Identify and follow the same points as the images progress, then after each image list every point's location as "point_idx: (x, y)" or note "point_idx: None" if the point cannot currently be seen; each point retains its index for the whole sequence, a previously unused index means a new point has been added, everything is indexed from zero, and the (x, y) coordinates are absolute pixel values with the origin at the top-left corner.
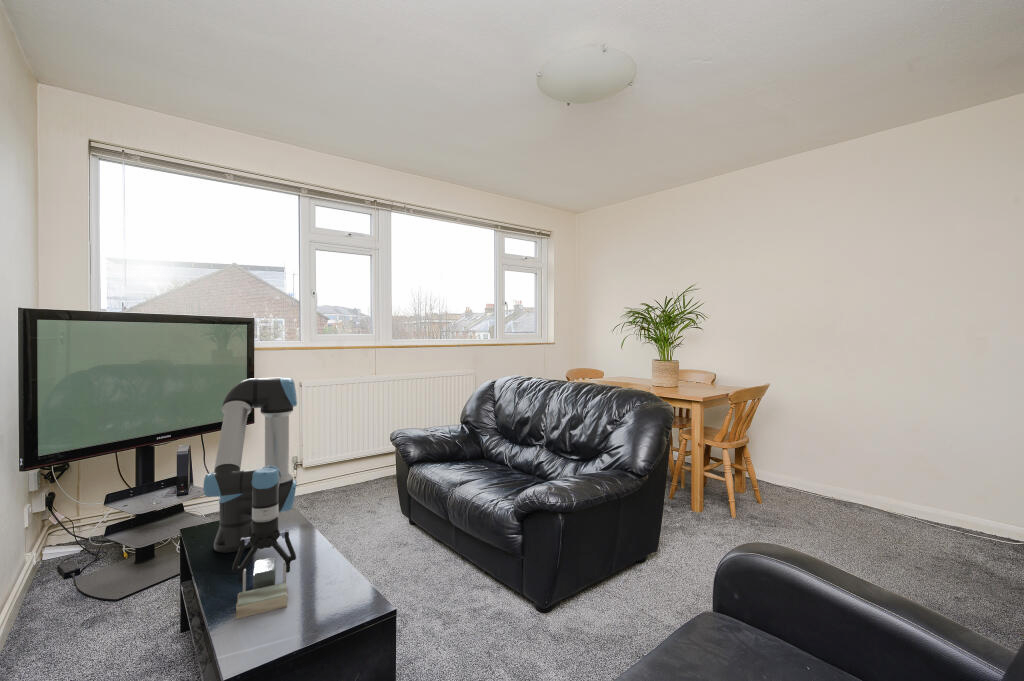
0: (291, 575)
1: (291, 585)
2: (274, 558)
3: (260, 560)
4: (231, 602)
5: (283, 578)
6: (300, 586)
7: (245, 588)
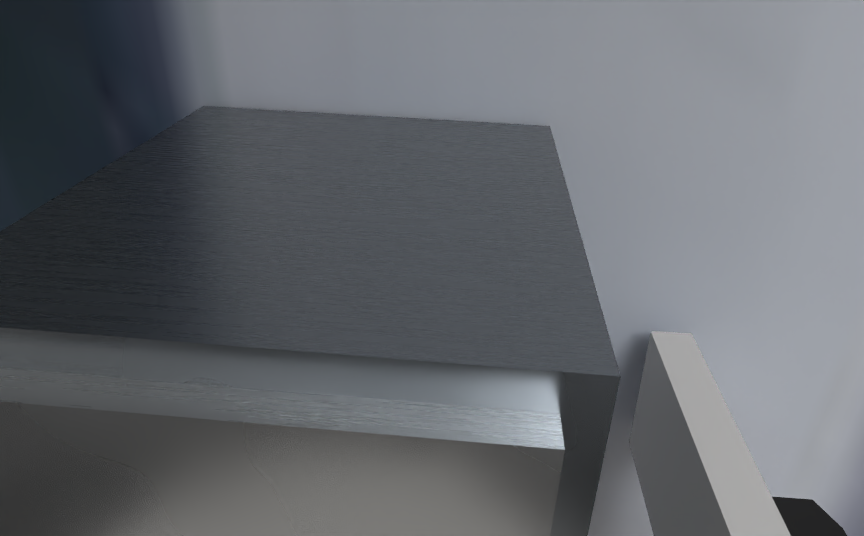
0: (840, 138)
1: None
2: (563, 430)
3: (53, 459)
4: None
5: (650, 515)
6: None
7: None
